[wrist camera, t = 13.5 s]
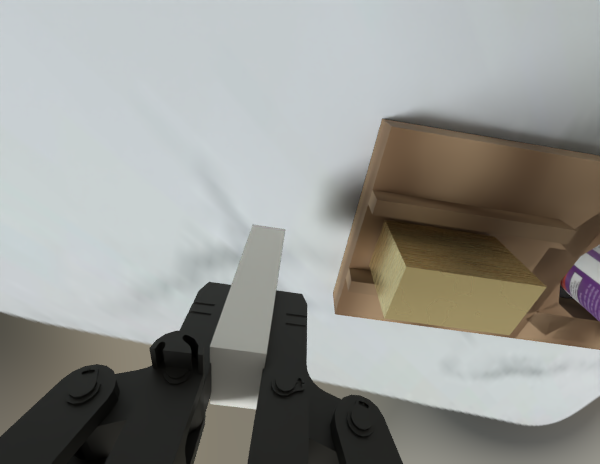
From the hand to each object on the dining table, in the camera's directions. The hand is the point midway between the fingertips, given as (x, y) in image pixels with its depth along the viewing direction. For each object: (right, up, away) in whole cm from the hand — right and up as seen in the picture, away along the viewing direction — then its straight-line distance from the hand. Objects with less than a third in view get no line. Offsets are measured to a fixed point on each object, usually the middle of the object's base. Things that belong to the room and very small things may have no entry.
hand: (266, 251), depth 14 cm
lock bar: (+9, 0, +2) cm, 9 cm away
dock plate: (+16, 0, +5) cm, 16 cm away
